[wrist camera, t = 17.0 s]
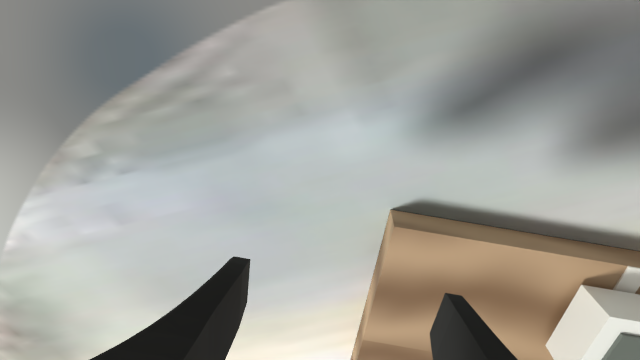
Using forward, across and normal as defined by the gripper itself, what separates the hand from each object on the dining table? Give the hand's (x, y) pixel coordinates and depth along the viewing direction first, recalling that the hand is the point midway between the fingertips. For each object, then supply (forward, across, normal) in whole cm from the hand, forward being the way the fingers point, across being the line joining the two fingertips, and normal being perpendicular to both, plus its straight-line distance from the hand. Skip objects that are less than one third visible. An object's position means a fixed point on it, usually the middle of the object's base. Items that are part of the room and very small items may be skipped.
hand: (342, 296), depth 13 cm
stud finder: (+7, -17, +5) cm, 19 cm away
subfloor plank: (+9, -14, +8) cm, 19 cm away
